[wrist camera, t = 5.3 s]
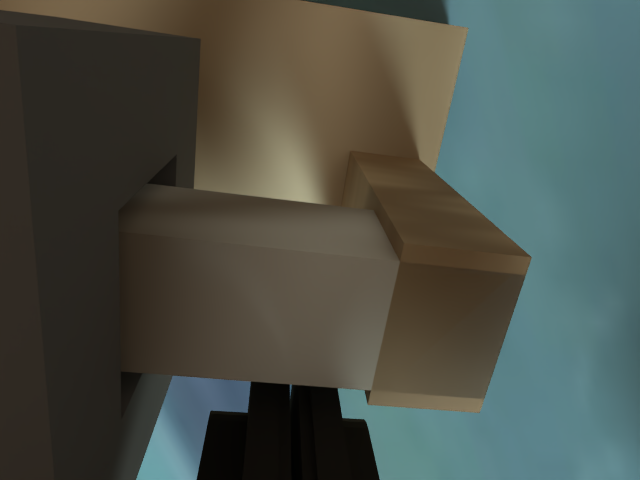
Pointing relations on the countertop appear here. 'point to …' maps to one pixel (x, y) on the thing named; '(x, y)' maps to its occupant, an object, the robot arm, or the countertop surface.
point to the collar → (80, 233)
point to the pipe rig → (312, 210)
